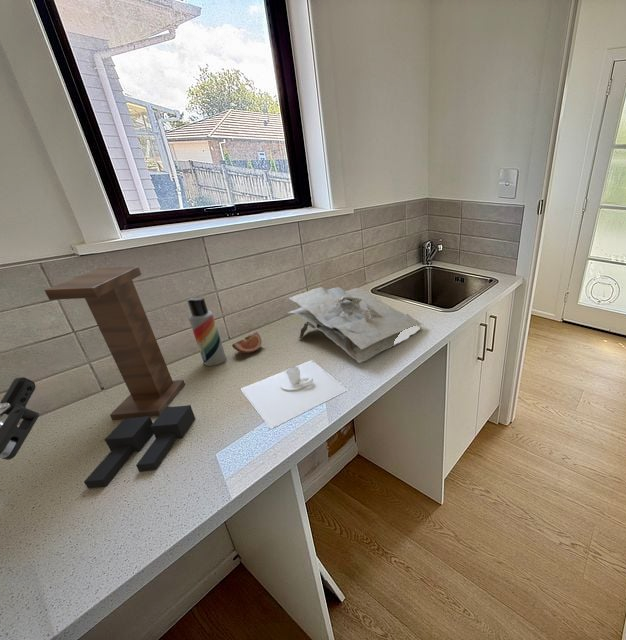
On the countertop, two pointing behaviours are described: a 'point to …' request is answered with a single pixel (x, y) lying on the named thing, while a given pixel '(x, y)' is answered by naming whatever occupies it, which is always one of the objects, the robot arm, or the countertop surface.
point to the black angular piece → (166, 435)
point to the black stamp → (121, 449)
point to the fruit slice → (248, 344)
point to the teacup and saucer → (292, 392)
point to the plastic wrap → (352, 319)
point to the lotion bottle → (206, 332)
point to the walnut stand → (125, 337)
